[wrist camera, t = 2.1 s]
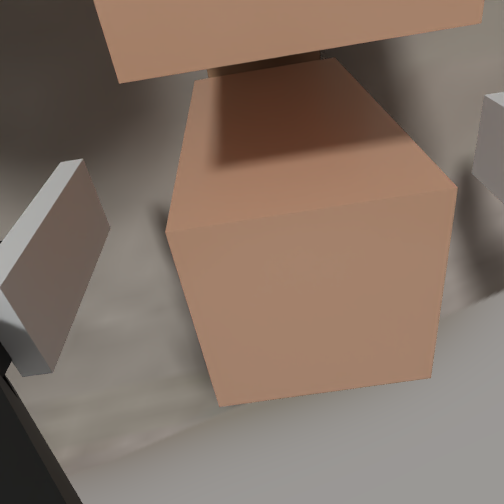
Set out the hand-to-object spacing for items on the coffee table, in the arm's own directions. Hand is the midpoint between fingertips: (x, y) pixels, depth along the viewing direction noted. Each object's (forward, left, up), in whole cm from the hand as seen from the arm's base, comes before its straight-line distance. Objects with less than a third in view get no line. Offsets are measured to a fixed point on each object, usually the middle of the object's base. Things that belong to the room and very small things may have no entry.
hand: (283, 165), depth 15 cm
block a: (0, 0, -3) cm, 3 cm away
